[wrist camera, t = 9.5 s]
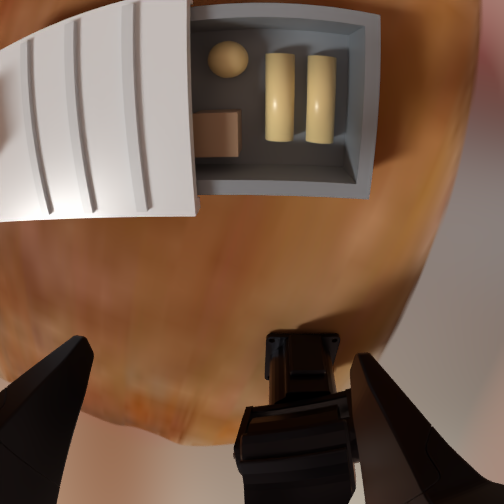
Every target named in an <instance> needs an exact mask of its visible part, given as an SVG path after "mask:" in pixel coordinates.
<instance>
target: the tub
mask: <svg viewBox="0 0 504 504" xmlns="http://www.w3.org/2000/svg"><path fill="white" fill-rule="evenodd" d="M190 54H191V93H192V118H193V138H194V155H195V171H196V185H197V195H285V196H314V197H336V198H355V199H369V195H370V187H371V180H372V172H373V164H374V155H375V145H376V134H377V122H378V109H379V91H380V63H381V24H380V15H377V14H372V13H367V12H361V11H356V10H349V9H343V8H335V7H327V6H317V5H306V4H290V3H232V4H216V5H205V6H195V7H190Z"/></svg>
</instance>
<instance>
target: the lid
mask: <svg viewBox="0 0 504 504" xmlns="http://www.w3.org/2000/svg"><path fill="white" fill-rule="evenodd" d="M192 4H193V0H124V1H120V2H117V3H113V4H110V5H106V6H103V7H100V8H96V9H93V10H90V11H87V12H84V13H82V14H79V15H76V16H73V17H71V18H68V19H65V20H63V21H60V22H58V23H55V24H53V25H51V26H48V27H46V28H44V29H42V30H39V31H37V32H35V33H33V34H31V35H29V36H27V37H25V38H23V39H21V40H19V41H17V42H15V43H13V44H11V45H9V46H7V47H5V48H4V49H2V50H0V222H7V221H25V220H46V219H71V218H103V217H163V216H196V215H197V213H198V211H199V209H200V197H197V185H196V171H195V155H194V138H193V118H192V93H191V54H190V5H192Z"/></svg>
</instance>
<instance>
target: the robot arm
mask: <svg viewBox="0 0 504 504" xmlns="http://www.w3.org/2000/svg"><path fill="white" fill-rule="evenodd" d="M339 342H340V337H339V335H338V334H336V333H330V334H278V333H271V334H268V335H267V337H266V357H265V379H266V380H269V405H265V406H257V407H253V406H249V407H246V409H245V412H244V415H243V418H242V421H241V425H240V428H239V431H238V435H237V438H236V441H235V445H234V453H233V457H234V459H235V460H236V464H237V467H238V470H239V472H240V474H241V475H242V476H243V483H244V499H245V504H348V503H349V501H350V499H351V497H352V496H353V493H354V492H355V489H356V474H355V465H354V463H358V462H360V465H361V472H362V479H363V486H364V494H365V502H366V504H504V485H502V484H499V483H495V482H492V481H489V480H487V479H486V478H484V477H483V476H481V475H480V474H479V473H478V472H477V471H475V470H474V469H473V468H472V467H471V466H470V465H469V464H468V463H467V462H466V461H465V460H464V459H463V458H462V457H461V456H460V455H458V454H457V453H456V452H455V451H454V450H453V449H452V448H451V447H450V446H449V445H448V443H447V442H446V441H445V440H444V439H443V438H442V437H441V436H440V434H439V433H438V432H437V431H436V430H435V429H434V427H431V424H430V423H429V422H428V420H427V419H426V418H425V417H424V416H423V414H422V413H421V412H420V411H419V410H418V409H417V407H416V406H415V405H414V404H413V403H412V402H411V400H410V399H409V398H408V397H407V396H406V395H405V393H404V392H403V391H402V390H401V389H400V388H399V386H398V385H397V384H396V383H395V382H394V381H393V379H392V378H391V377H390V376H389V375H388V374H387V372H386V371H385V370H384V369H383V368H382V367H381V366H380V364H379V363H378V362H377V361H376V360H375V359H374V357H373V356H372V355H371V354H370V353H368V352H364V353H357V354H356V355H355V358H354V361H353V364H352V366H351V369H350V382H351V388H350V389H346V391H342V392H336V385H335V379H334V372H333V364H334V360H335V357H336V353H337V350H338V346H339ZM93 359H94V353H93V350H92V348H91V346H90V344H89V342H88V340H87V338H86V337H84V336H78V335H75V336H73V337H72V338H71V339H69V340H68V341H66V342H65V343H64V344H62V345H61V346H60V347H58V348H57V349H56V350H54V351H53V352H52V353H50V354H49V355H48V356H46V357H45V358H44V359H42V360H41V361H40V362H38V363H37V364H36V365H34V366H33V367H32V368H31V369H29V370H28V371H27V372H25V373H24V374H23V375H21V376H20V377H19V378H18V379H16V380H15V381H14V382H12V383H11V384H10V385H8V386H7V388H5V389H4V390H2V391H1V392H0V504H56V503H57V498H58V494H59V488H60V484H61V479H62V475H63V471H64V467H65V462H66V459H67V455H68V451H69V447H70V443H71V440H72V436H73V433H74V429H75V426H76V422H77V419H78V416H79V413H80V409H81V406H82V403H83V400H84V397H85V393H86V389H87V385H88V380H89V376H90V371H91V367H92V363H93Z"/></svg>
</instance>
